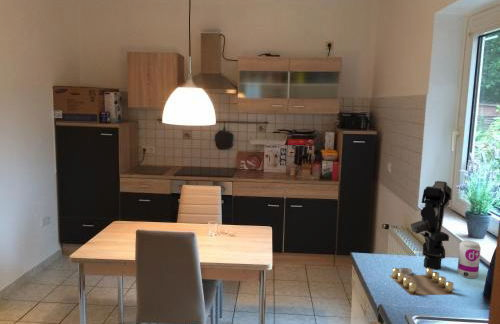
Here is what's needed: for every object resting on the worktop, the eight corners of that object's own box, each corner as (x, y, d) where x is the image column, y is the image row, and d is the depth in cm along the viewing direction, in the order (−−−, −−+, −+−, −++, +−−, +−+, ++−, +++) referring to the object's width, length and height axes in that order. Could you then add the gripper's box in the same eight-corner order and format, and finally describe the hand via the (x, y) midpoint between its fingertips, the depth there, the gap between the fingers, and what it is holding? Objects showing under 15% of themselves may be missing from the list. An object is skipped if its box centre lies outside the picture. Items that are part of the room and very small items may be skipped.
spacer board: (428, 276, 181) (429, 274, 181) (455, 296, 161) (455, 294, 161) (388, 277, 179) (388, 275, 179) (410, 297, 159) (410, 295, 159)
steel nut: (407, 271, 186) (406, 267, 186) (413, 275, 180) (413, 270, 180) (396, 272, 185) (396, 267, 185) (402, 275, 180) (402, 270, 180)
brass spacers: (430, 276, 179) (430, 267, 179) (453, 293, 162) (454, 283, 161) (391, 276, 178) (391, 267, 177) (410, 294, 160) (411, 284, 160)
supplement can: (480, 279, 179) (483, 246, 178) (460, 277, 181) (463, 244, 179) (474, 272, 187) (477, 240, 185) (454, 271, 189) (457, 239, 187)
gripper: (403, 210, 185) (401, 244, 187) (425, 221, 167) (422, 258, 169) (427, 211, 187) (424, 244, 188) (451, 221, 168) (448, 258, 170)
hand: (429, 251), depth 179 cm, fingers closed
